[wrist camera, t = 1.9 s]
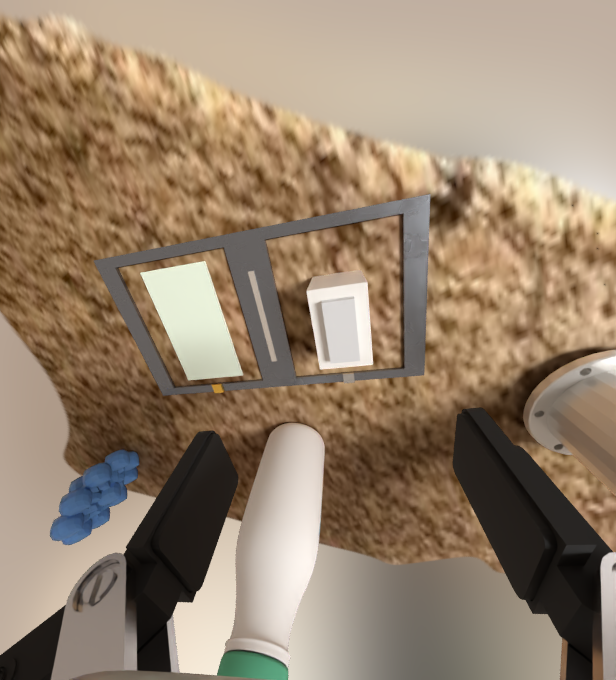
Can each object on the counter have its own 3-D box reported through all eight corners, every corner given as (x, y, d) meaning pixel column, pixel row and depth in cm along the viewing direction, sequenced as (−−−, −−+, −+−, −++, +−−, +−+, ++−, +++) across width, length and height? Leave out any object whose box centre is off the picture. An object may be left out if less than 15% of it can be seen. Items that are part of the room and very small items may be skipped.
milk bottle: (259, 428, 32) (161, 681, 14) (311, 414, 30) (273, 688, 12) (284, 465, 35) (229, 717, 17) (333, 455, 33) (329, 729, 15)
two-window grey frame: (428, 194, 19) (431, 193, 19) (423, 374, 26) (424, 376, 26) (96, 260, 25) (91, 261, 24) (165, 394, 32) (162, 397, 31)
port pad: (205, 261, 23) (204, 261, 23) (243, 374, 29) (242, 375, 29) (141, 272, 25) (140, 272, 24) (189, 379, 30) (188, 380, 30)
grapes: (106, 419, 35) (3, 505, 24) (151, 433, 35) (69, 525, 24) (110, 468, 40) (27, 557, 29) (150, 480, 40) (82, 573, 30)
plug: (360, 269, 22) (368, 284, 17) (365, 337, 25) (374, 369, 20) (311, 277, 23) (303, 293, 18) (321, 342, 26) (317, 373, 20)
